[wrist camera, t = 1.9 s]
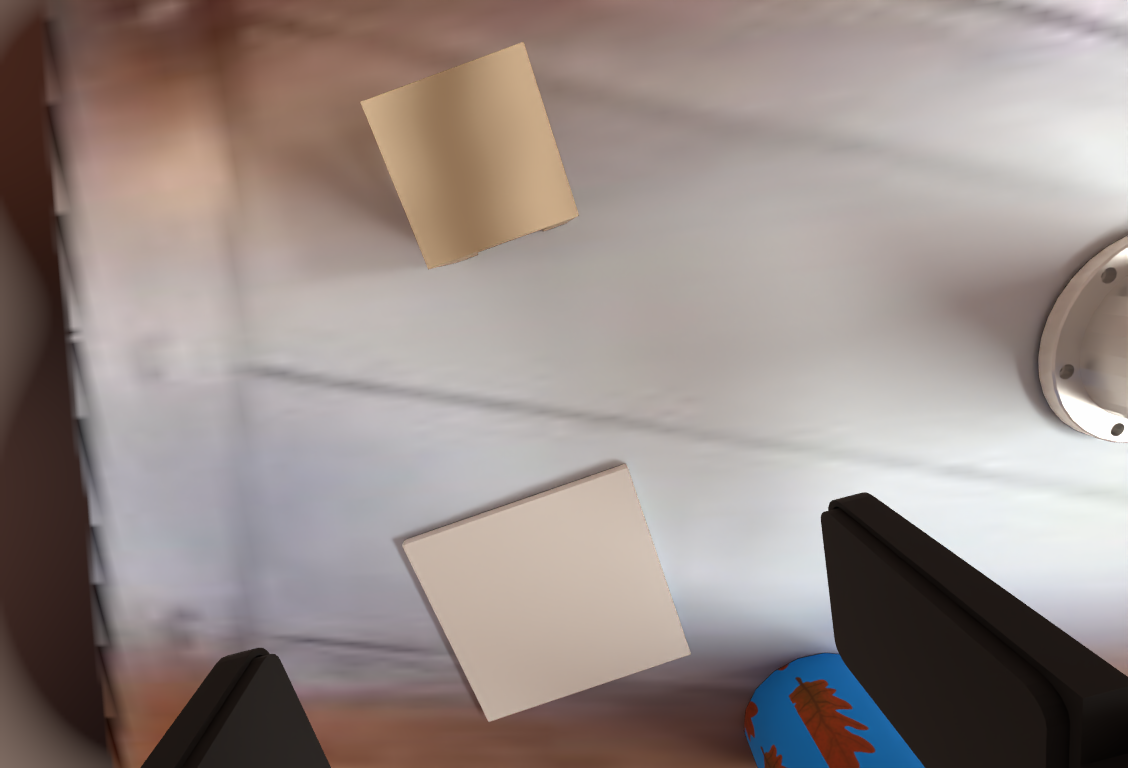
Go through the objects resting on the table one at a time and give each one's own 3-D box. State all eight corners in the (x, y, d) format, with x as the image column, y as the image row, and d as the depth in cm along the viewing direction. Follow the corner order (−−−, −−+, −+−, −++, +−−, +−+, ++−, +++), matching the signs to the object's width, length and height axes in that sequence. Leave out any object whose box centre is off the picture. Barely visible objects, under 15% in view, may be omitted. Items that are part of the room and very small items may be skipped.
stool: (525, 103, 26) (523, 41, 18) (564, 223, 27) (578, 215, 20) (410, 144, 26) (360, 102, 18) (456, 262, 27) (428, 269, 20)
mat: (625, 463, 31) (627, 467, 30) (688, 647, 35) (691, 654, 34) (404, 540, 31) (402, 545, 31) (489, 713, 35) (488, 721, 34)
